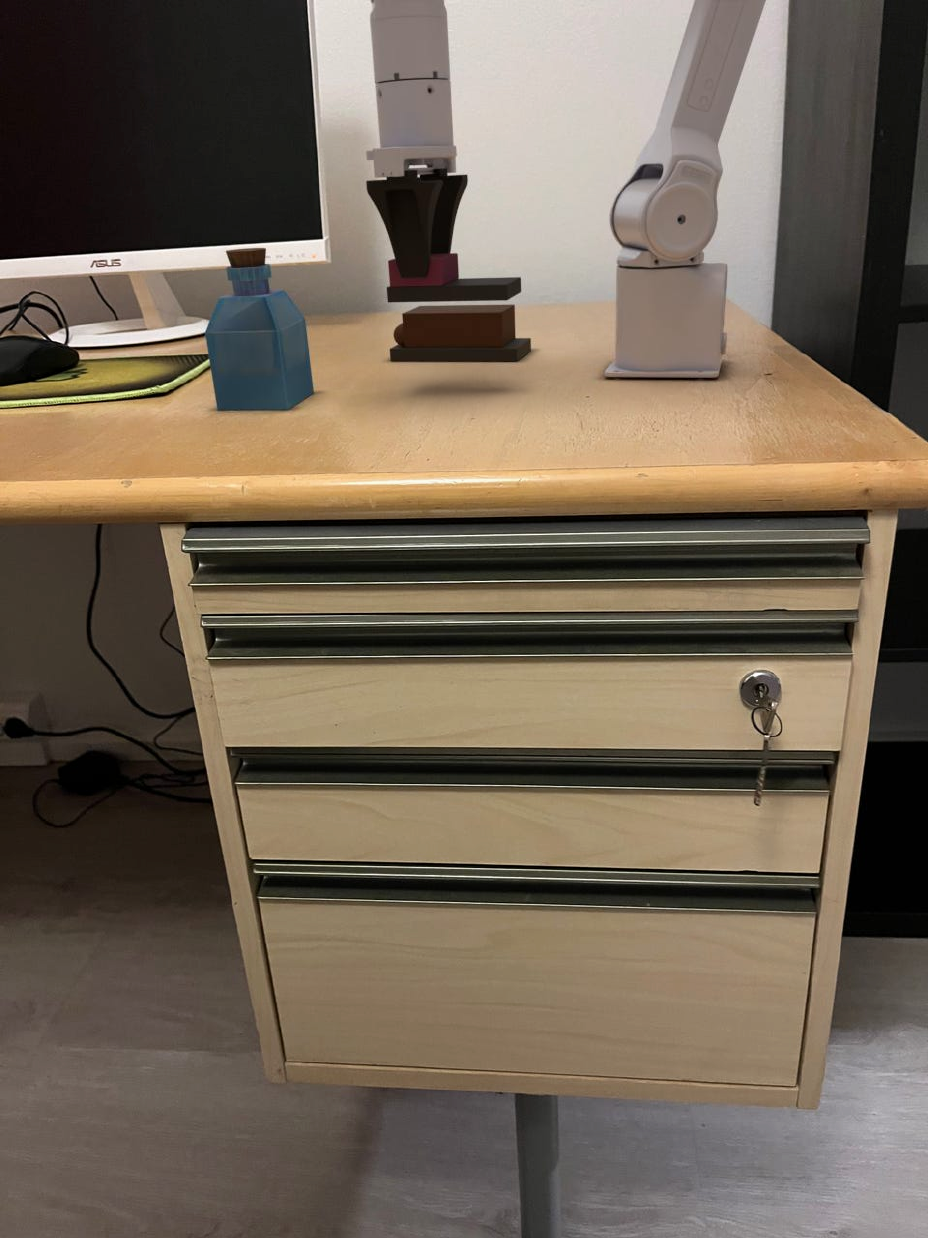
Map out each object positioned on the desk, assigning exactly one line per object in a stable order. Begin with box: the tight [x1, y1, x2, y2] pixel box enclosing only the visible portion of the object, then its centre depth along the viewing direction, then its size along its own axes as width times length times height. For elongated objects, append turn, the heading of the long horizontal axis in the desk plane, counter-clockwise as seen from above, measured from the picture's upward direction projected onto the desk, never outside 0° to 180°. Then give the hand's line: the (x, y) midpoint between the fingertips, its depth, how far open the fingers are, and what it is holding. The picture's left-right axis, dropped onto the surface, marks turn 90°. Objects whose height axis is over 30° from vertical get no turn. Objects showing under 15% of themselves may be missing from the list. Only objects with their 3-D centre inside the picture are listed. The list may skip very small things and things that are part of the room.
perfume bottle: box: [204, 247, 315, 411], centre depth 78 cm, size 6×6×12 cm
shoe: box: [389, 304, 532, 362], centre depth 95 cm, size 13×6×4 cm, turn 74°
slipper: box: [386, 252, 522, 303], centre depth 77 cm, size 10×5×3 cm, turn 74°
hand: (425, 273), depth 78 cm, fingers closed on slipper, 5 cm apart
